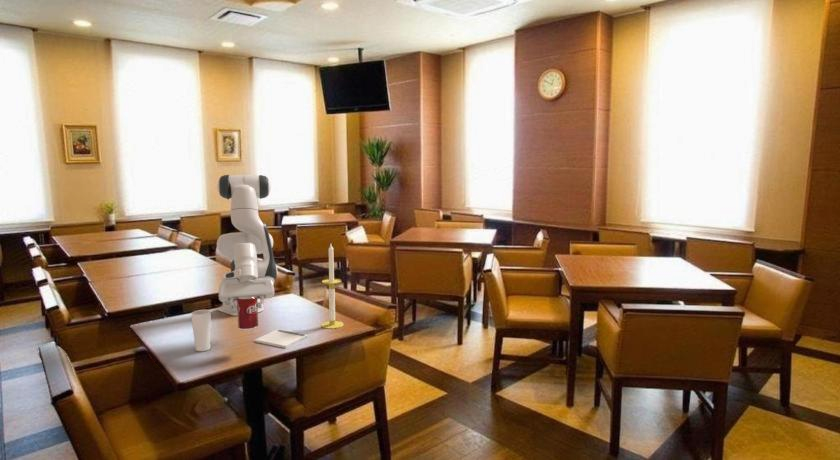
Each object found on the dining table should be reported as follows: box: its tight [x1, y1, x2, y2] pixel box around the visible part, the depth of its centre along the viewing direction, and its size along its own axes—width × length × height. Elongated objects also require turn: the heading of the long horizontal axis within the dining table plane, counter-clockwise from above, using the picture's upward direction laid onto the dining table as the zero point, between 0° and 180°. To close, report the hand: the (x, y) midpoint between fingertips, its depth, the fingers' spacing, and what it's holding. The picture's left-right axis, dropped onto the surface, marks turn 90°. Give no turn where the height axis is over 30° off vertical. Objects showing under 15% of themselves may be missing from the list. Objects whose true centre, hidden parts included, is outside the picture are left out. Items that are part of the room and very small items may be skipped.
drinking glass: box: [191, 309, 212, 352], centre depth 188 cm, size 7×7×15 cm
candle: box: [320, 243, 345, 330], centre depth 216 cm, size 10×10×38 cm
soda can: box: [237, 295, 259, 331], centre depth 184 cm, size 7×7×12 cm
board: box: [254, 328, 309, 349], centre depth 200 cm, size 16×14×1 cm
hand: (247, 308), depth 184 cm, fingers closed on soda can, 7 cm apart
